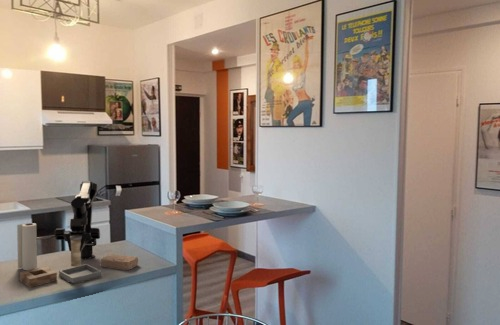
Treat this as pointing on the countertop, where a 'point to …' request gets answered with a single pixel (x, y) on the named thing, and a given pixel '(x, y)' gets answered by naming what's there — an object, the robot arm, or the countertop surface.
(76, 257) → the pin
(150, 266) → the countertop surface
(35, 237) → the paper towel roll
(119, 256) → the brick
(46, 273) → the socket block
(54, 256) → the countertop surface
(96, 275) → the tray
